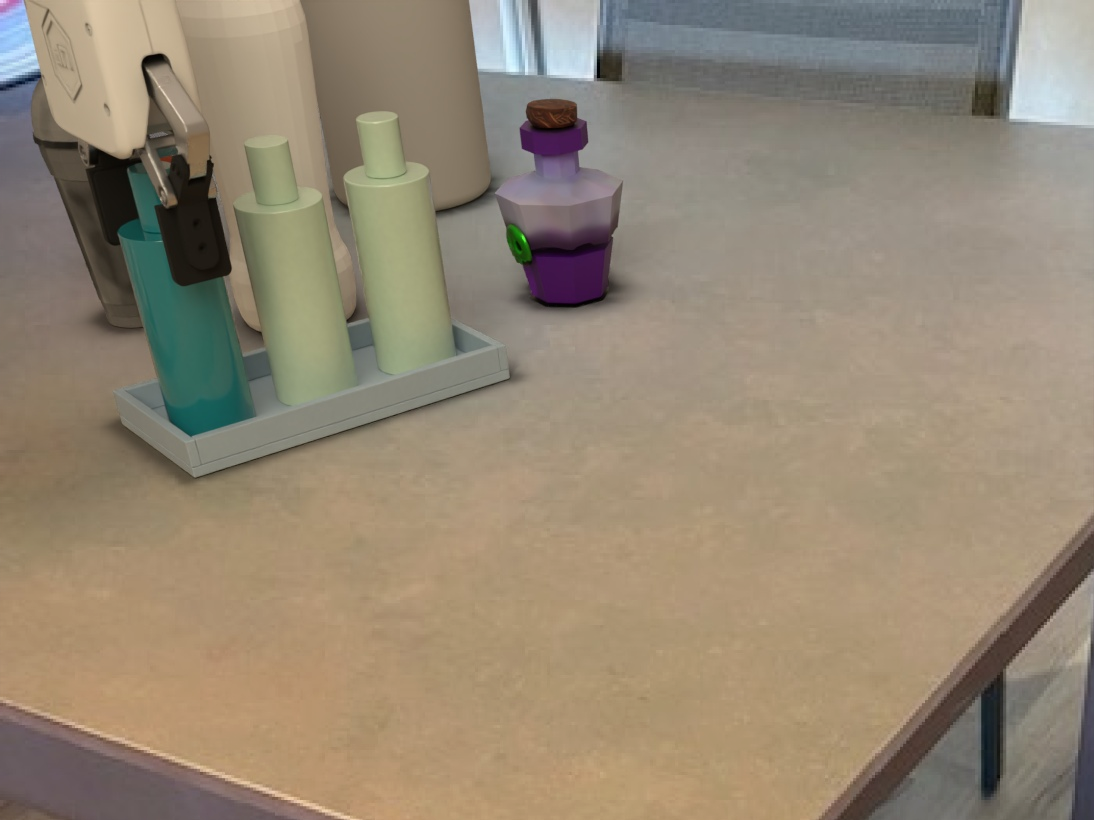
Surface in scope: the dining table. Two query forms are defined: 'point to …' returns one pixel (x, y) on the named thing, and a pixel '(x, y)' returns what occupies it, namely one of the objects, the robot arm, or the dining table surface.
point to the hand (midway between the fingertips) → (167, 258)
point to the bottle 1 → (259, 111)
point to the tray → (312, 402)
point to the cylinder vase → (402, 87)
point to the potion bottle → (560, 210)
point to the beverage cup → (84, 214)
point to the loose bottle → (184, 326)
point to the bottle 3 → (398, 250)
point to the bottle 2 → (293, 277)
